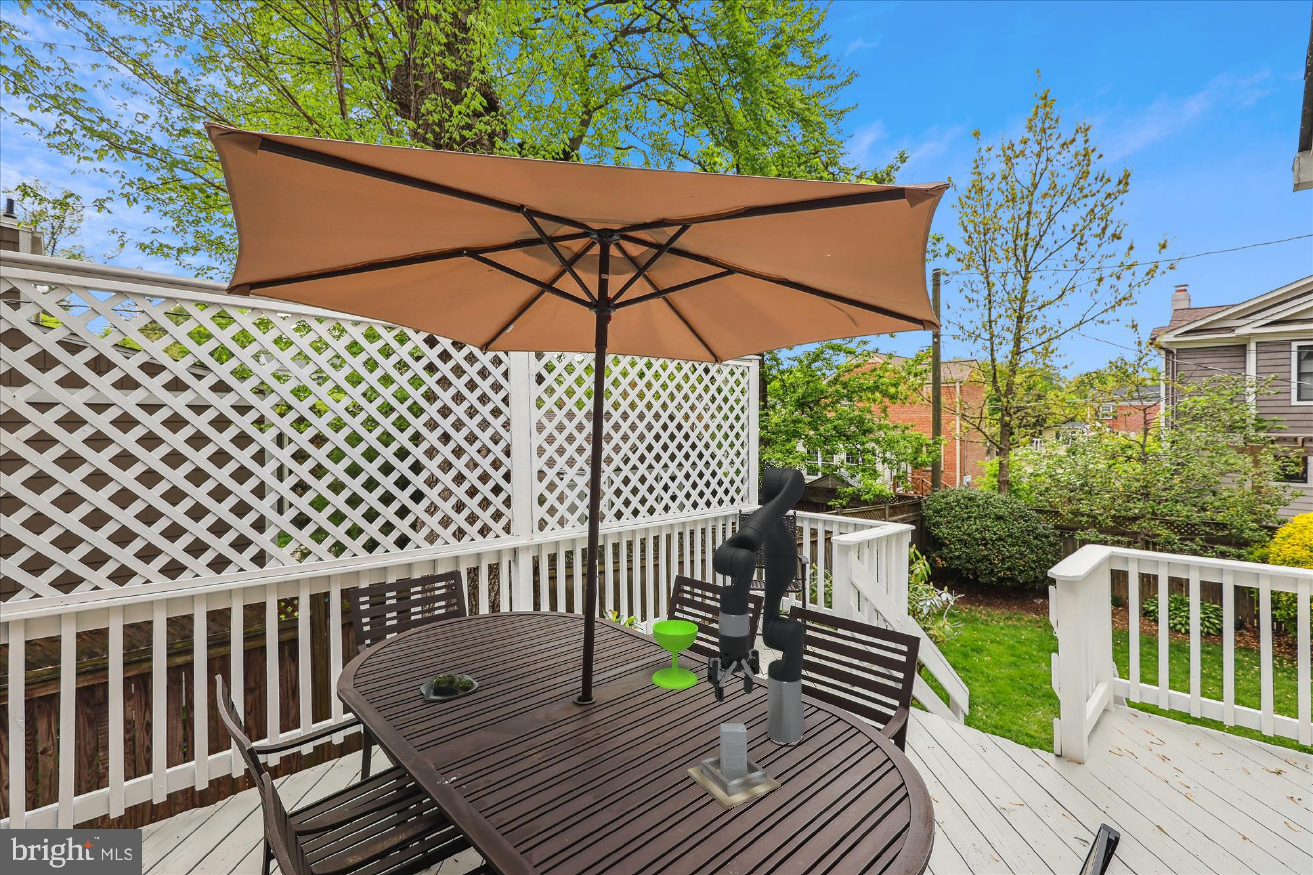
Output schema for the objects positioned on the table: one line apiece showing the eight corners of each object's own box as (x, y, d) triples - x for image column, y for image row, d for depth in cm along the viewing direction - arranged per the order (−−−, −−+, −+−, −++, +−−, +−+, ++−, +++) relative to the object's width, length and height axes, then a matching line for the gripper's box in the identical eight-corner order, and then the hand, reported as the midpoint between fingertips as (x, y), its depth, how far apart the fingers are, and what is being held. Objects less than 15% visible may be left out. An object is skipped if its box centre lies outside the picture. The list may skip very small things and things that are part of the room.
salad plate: (409, 687, 186) (409, 673, 186) (462, 673, 197) (462, 660, 197) (427, 708, 171) (427, 693, 171) (483, 693, 182) (484, 678, 182)
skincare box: (743, 771, 137) (744, 722, 137) (747, 781, 133) (747, 731, 133) (719, 771, 137) (719, 722, 137) (722, 782, 133) (722, 731, 133)
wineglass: (699, 689, 186) (699, 635, 186) (651, 688, 186) (651, 634, 186) (696, 670, 202) (697, 620, 202) (652, 669, 202) (653, 619, 202)
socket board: (738, 756, 146) (738, 742, 146) (780, 788, 132) (780, 773, 132) (687, 773, 138) (687, 759, 138) (726, 810, 124) (727, 794, 124)
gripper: (747, 620, 142) (746, 684, 142) (701, 630, 135) (700, 697, 135) (766, 629, 136) (766, 696, 136) (719, 639, 129) (719, 710, 128)
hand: (733, 696), depth 135 cm, fingers open, 8 cm apart
